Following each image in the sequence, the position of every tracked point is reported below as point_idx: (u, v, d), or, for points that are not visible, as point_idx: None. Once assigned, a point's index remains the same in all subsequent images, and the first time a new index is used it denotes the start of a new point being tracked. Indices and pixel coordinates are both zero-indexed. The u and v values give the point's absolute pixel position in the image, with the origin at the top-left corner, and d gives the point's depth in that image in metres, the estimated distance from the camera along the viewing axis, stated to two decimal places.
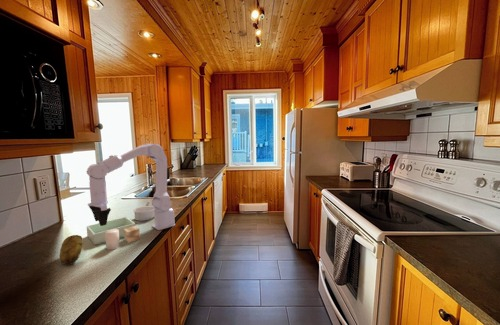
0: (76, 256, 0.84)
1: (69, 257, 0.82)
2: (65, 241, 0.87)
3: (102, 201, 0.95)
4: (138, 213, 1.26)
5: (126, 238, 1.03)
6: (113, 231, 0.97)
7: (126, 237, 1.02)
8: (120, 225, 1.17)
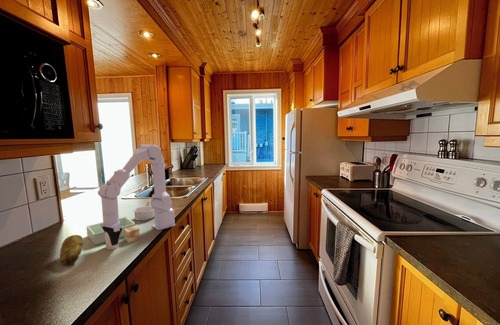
0: (76, 256, 0.84)
1: (69, 257, 0.82)
2: (65, 241, 0.87)
3: (115, 221, 0.94)
4: (138, 213, 1.26)
5: (126, 238, 1.03)
6: None
7: (126, 237, 1.02)
8: (120, 225, 1.17)
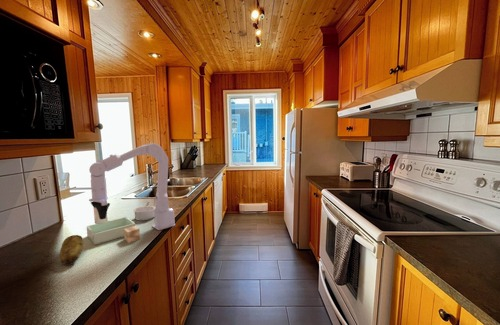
0: (76, 256, 0.84)
1: (69, 257, 0.82)
2: (65, 241, 0.87)
3: (103, 197, 1.02)
4: (138, 213, 1.26)
5: (126, 238, 1.03)
6: None
7: (126, 237, 1.02)
8: (120, 225, 1.17)
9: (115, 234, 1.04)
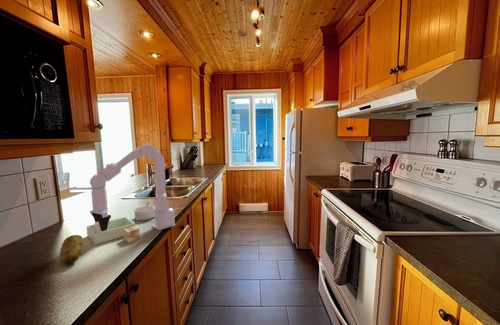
0: (76, 256, 0.84)
1: (69, 257, 0.82)
2: (65, 241, 0.87)
3: (103, 209, 1.03)
4: (138, 213, 1.26)
5: (126, 238, 1.03)
6: None
7: (126, 237, 1.02)
8: (120, 225, 1.17)
9: (115, 234, 1.04)
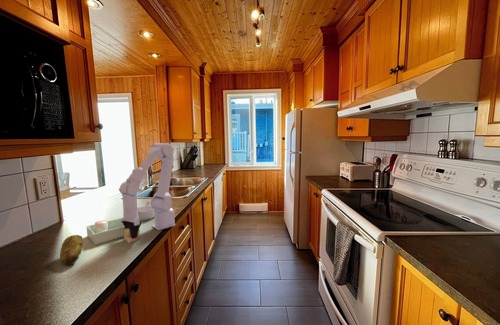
0: (76, 256, 0.84)
1: (69, 257, 0.82)
2: (65, 241, 0.87)
3: (134, 216, 1.02)
4: (138, 213, 1.26)
5: (126, 238, 1.03)
6: (102, 222, 1.06)
7: (126, 237, 1.02)
8: (120, 225, 1.17)
9: (115, 234, 1.04)
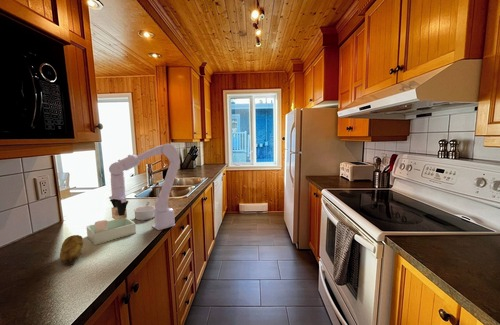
0: (76, 256, 0.83)
1: (69, 257, 0.82)
2: (65, 241, 0.87)
3: (122, 195, 1.08)
4: (138, 213, 1.27)
5: (113, 216, 1.09)
6: (102, 222, 1.06)
7: (113, 215, 1.09)
8: (120, 225, 1.17)
9: (115, 234, 1.04)
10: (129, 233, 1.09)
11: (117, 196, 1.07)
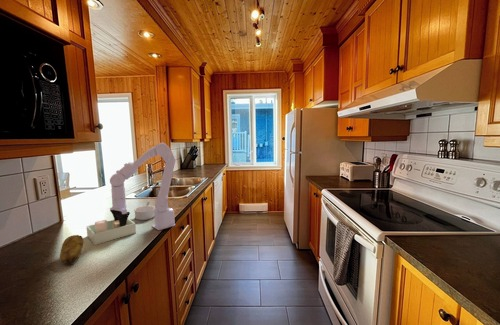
0: (76, 256, 0.83)
1: (69, 257, 0.82)
2: (65, 241, 0.87)
3: (122, 206, 1.09)
4: (138, 212, 1.27)
5: None
6: (102, 222, 1.06)
7: None
8: None
9: (115, 234, 1.04)
10: (129, 233, 1.09)
11: (118, 207, 1.08)
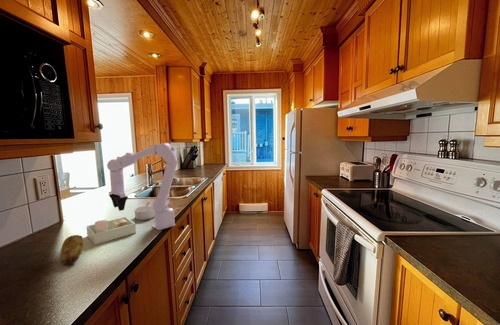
0: (76, 256, 0.83)
1: (69, 257, 0.82)
2: (65, 241, 0.87)
3: (121, 190, 1.14)
4: (138, 212, 1.27)
5: None
6: (102, 222, 1.06)
7: None
8: None
9: (115, 234, 1.04)
10: (129, 233, 1.09)
11: (116, 191, 1.12)
